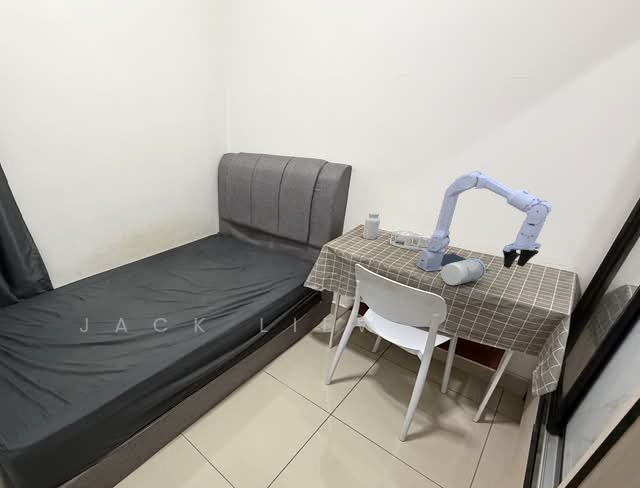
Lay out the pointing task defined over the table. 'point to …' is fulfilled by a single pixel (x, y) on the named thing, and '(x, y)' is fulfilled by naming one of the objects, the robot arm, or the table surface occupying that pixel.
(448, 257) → the desk mat
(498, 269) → the table surface
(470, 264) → the supplement tub
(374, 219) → the pill bottle
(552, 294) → the table surface
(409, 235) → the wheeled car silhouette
